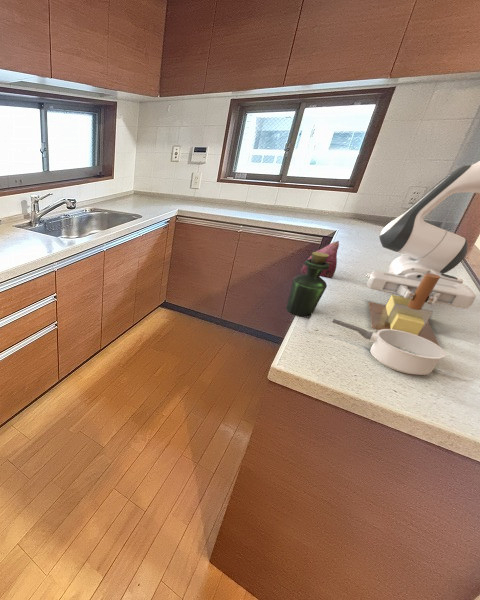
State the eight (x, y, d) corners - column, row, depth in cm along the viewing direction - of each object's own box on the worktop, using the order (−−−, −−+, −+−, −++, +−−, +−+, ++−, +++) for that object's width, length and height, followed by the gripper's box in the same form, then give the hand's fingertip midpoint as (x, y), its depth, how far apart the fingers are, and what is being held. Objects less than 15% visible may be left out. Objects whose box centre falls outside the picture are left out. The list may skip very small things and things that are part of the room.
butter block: (407, 311, 94) (414, 299, 93) (411, 322, 89) (418, 309, 87) (385, 306, 97) (391, 294, 95) (387, 316, 91) (394, 304, 90)
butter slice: (414, 331, 84) (422, 318, 82) (416, 337, 82) (424, 324, 80) (390, 325, 87) (397, 312, 85) (390, 330, 85) (398, 317, 83)
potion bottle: (315, 321, 91) (341, 261, 83) (282, 314, 94) (303, 255, 86) (313, 310, 97) (336, 252, 89) (282, 303, 101) (302, 247, 92)
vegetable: (324, 280, 127) (349, 244, 121) (331, 286, 118) (359, 248, 112) (297, 268, 130) (320, 233, 123) (301, 274, 121) (327, 236, 114)
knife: (419, 329, 85) (452, 277, 77) (421, 333, 83) (454, 281, 75) (385, 320, 88) (412, 270, 81) (385, 324, 86) (414, 273, 79)
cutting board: (423, 319, 94) (425, 314, 93) (436, 351, 79) (439, 346, 79) (366, 305, 101) (368, 301, 100) (369, 332, 86) (371, 328, 86)
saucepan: (328, 329, 87) (336, 311, 85) (431, 362, 75) (444, 342, 73) (320, 347, 80) (328, 327, 77) (432, 386, 68) (447, 365, 65)
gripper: (370, 262, 94) (373, 276, 84) (471, 280, 84) (487, 299, 74) (361, 282, 97) (362, 297, 87) (457, 302, 86) (471, 322, 76)
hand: (420, 298), depth 80 cm, fingers closed on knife, 2 cm apart
